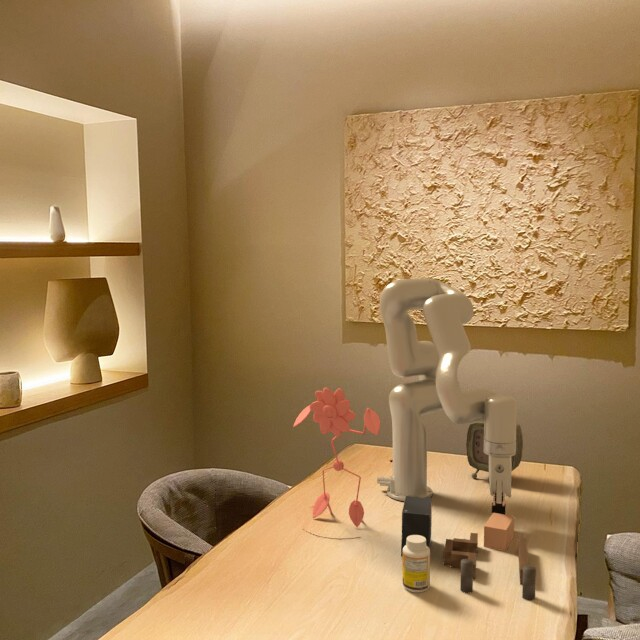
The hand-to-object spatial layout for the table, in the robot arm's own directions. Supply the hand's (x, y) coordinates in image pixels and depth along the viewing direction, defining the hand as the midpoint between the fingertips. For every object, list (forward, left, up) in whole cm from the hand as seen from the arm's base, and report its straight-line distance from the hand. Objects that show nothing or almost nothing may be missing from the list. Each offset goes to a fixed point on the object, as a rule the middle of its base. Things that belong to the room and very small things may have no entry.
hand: (498, 519), depth 167 cm
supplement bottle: (-16, -33, -3) cm, 37 cm away
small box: (-18, -15, -3) cm, 24 cm away
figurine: (-40, -7, -3) cm, 41 cm away
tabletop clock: (-1, +37, -3) cm, 37 cm away
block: (0, -7, -3) cm, 7 cm away
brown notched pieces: (-2, -22, -2) cm, 23 cm away
